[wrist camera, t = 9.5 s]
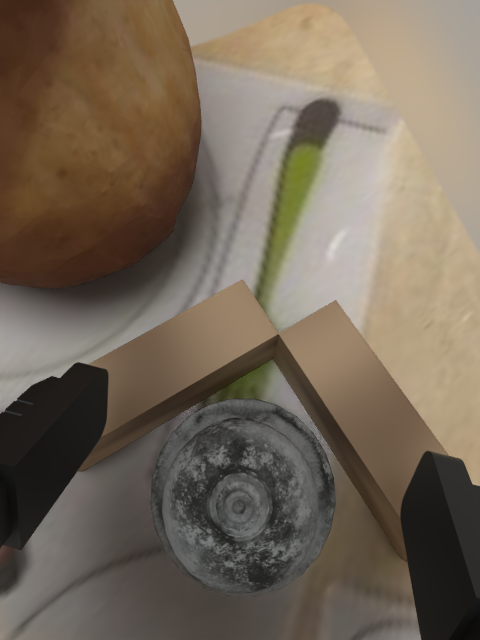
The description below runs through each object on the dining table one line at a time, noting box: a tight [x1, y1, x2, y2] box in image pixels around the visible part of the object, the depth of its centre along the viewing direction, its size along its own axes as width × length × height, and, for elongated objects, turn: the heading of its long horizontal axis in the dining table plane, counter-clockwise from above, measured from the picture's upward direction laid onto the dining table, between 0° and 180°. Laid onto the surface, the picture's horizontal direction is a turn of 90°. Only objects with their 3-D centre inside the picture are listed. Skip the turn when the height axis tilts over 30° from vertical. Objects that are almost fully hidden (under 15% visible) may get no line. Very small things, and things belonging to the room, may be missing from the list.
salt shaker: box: [150, 399, 335, 596], centre depth 12 cm, size 6×6×12 cm
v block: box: [78, 279, 449, 562], centre depth 17 cm, size 8×16×4 cm, turn 76°
